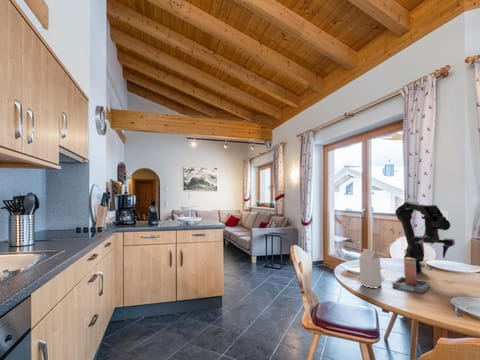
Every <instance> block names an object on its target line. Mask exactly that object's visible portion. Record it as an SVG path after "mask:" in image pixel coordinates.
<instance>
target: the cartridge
mask: <svg viewBox="0 0 480 360" xmlns="http://www.w3.org/2000/svg"><path fill="white" fill-rule="evenodd" d="M403 263H404V265H403V266H404V277H405V285H409V286H414V287H417V280H418V279H417V273H416V260H415V258H410V257H405V258H404V257H403Z"/></svg>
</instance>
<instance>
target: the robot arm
mask: <svg viewBox="0 0 480 360" xmlns="http://www.w3.org/2000/svg"><path fill="white" fill-rule="evenodd" d="M414 211H416V212H419V213H420V214H421V215H422V217H421V219H422V220H424V234H423V235H422V236H420V235H419V236H418V235H415V232H414V229H413V226H412V221H411V220H412V218H413V213H414ZM395 215H396V217H397V220H399V222H400V223H401V225H402V228H403V232H404V237H405V239H406V243H407V247H406V249H405V250H406V254H405V255H404V256H403V259H404V258H405V257H410V258H415V260H416V274H419V273H421V272H422V271H423V264H422V263H421V262H424V258H425V246H424V243H425V244H432V245H433V244H435V243H437V244H443V245H442V258H443V259H444V258H445V257H446V255H447V252H448V249H449V248H451V247H452V246H455V245H456V241H455V239H454V238H444V239H440V235H439V230H442V231H448V230H449V229H450V228H451V222H450V221H449V220H448V219H447V217H446V216H444V214H443V213H442V212H441V210H440V208H439V206H437V205H436V204H429V205H427V204H425V205H424V204H421V203H418V202H417V203H416V202H413V201H405V202H403V204H402V205H400V206H399V207H397V209H396V210H395Z"/></svg>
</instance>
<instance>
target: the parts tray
mask: <svg viewBox="0 0 480 360" xmlns="http://www.w3.org/2000/svg"><path fill="white" fill-rule="evenodd" d="M391 284H392V288H393V287H396V288H395V289H397V288H400V289H399V290H402V289H404V290H403V291H406V290H408V291H407V292H411V291H412V292H411V293H415V292H416V293H415V294H420V295H423V294H425V292H426V291H428V289H429V288H430V281H426V280H425V281H424V280H420V279H417V287H414V286H409V285H405V276H399V277H398V278H397V279H396V280H394V281H393V282H392V283H391Z"/></svg>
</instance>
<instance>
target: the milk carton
mask: <svg viewBox="0 0 480 360" xmlns="http://www.w3.org/2000/svg"><path fill="white" fill-rule="evenodd" d="M358 260H359V275H360V285H361V284H363V285H366V286H369V287H371V288H375V287H379V286H382V287H383V285H382V272H381V269H382V268H381V258H380V256H379V255H378V254H377V253H376V251H375V250H371V249H366V248H363V249H362V252H361V254H360V255H359V259H358ZM379 288H380V287H379Z"/></svg>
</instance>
